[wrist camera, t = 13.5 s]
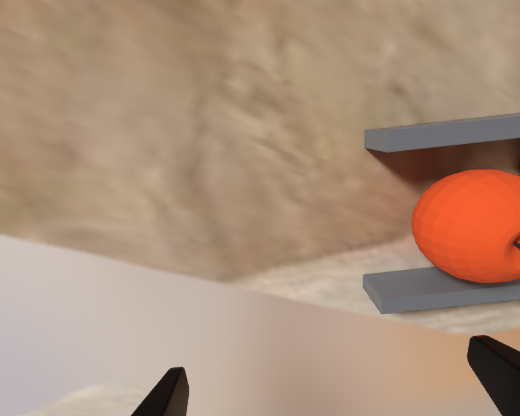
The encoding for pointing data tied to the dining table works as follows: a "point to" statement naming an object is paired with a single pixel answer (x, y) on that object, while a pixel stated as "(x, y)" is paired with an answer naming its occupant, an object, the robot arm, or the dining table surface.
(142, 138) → the dining table surface
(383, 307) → the grey shallow tray
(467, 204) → the clementine
